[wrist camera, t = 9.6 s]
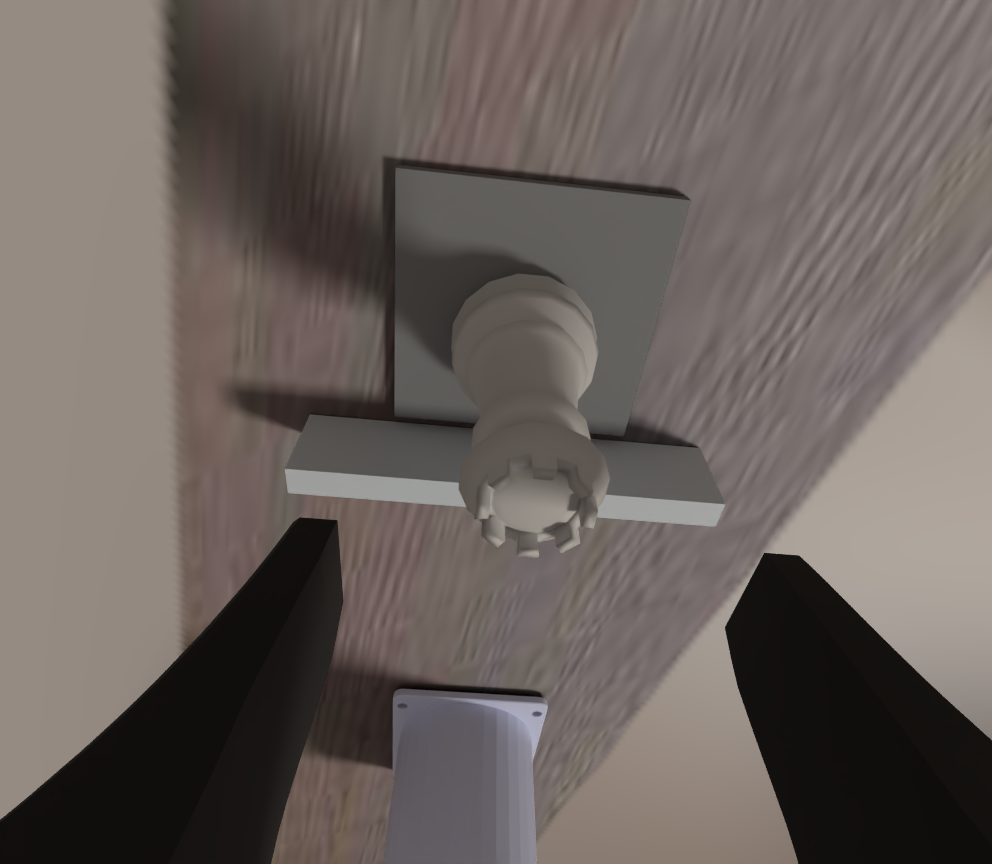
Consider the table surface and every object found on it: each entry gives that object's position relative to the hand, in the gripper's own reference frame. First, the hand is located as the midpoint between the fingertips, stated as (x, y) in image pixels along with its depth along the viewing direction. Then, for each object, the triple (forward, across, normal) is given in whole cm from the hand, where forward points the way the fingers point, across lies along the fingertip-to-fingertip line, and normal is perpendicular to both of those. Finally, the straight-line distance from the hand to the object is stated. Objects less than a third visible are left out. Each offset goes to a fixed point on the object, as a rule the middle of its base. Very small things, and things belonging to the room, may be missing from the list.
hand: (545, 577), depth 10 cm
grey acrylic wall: (+10, 0, +5) cm, 11 cm away
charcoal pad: (+10, 0, 0) cm, 10 cm away
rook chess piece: (+10, 0, 0) cm, 10 cm away
